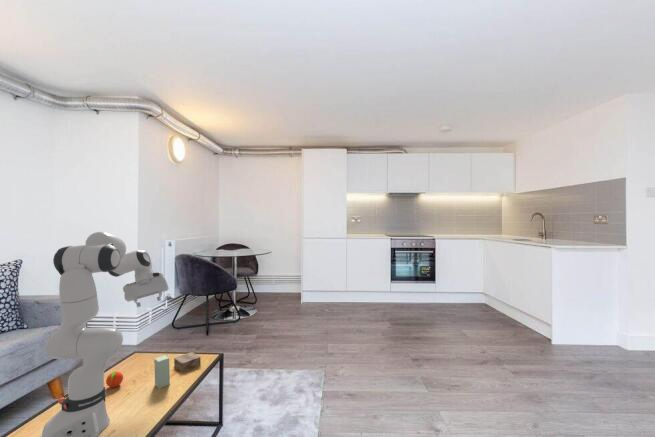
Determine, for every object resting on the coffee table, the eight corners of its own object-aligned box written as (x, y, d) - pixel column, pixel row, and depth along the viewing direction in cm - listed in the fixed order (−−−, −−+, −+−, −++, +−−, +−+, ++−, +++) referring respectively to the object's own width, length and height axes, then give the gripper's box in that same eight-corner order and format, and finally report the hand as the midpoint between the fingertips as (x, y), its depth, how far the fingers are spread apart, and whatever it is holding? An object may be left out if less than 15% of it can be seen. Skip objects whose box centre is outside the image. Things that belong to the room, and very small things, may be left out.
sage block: (158, 388, 151) (158, 361, 150) (154, 385, 154) (154, 358, 154) (169, 384, 154) (169, 358, 154) (165, 380, 158) (165, 355, 157)
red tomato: (120, 390, 150) (119, 375, 150) (103, 392, 148) (102, 377, 148) (125, 381, 157) (124, 367, 157) (109, 384, 155) (108, 369, 155)
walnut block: (182, 371, 166) (182, 363, 166) (174, 366, 173) (174, 358, 173) (200, 364, 174) (200, 356, 174) (192, 359, 180) (192, 351, 180)
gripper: (120, 283, 161) (124, 308, 156) (164, 271, 170) (169, 295, 164) (124, 287, 166) (127, 311, 161) (166, 276, 175) (171, 299, 169)
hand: (149, 303), depth 163 cm, fingers open, 8 cm apart
